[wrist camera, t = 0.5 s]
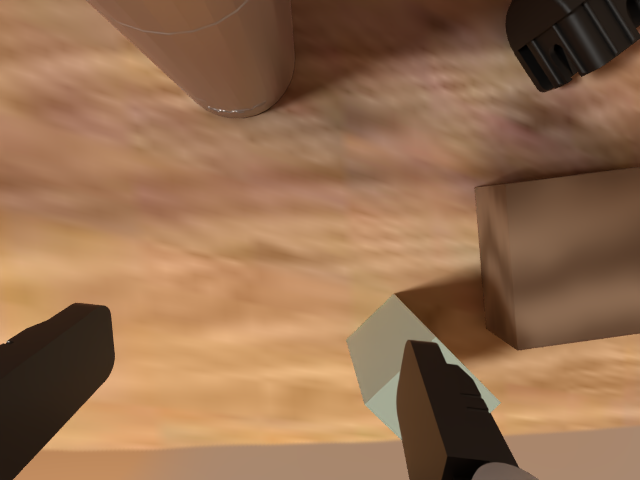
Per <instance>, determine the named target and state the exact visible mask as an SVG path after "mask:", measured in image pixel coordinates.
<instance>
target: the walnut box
mask: <svg viewBox="0 0 640 480" xmlns="http://www.w3.org/2000/svg"><path fill="white" fill-rule="evenodd" d="M475 200H476V212H477V224H478V236H479V248H480V260H481V272H482V284H483V296H484V308H485V320H486V329H488V330H489V331H491V332H492V333H493V334H495V335H496V336H498V337H499V338H501V339H502V340H504V341H505V342H506V343H508V344H509V345H511V346H512V347H514V348H515V349H517V350H524V349H531V348H538V347H546V346H553V345H560V344H567V343H574V342H582V341H589V340H596V339H603V338H610V337H618V336H625V335H632V334H639V333H640V167H634V168H625V169H616V170H608V171H601V172H593V173H585V174H577V175H569V176H561V177H554V178H546V179H538V180H530V181H522V182H515V183H507V184H499V185H491V186H483V187H475Z"/></svg>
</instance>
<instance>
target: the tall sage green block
mask: <svg viewBox="0 0 640 480" xmlns="http://www.w3.org/2000/svg"><path fill="white" fill-rule="evenodd" d="M407 340H417V341H426V342H436V343H437V344H438V345H439V347H440V349H441V352H442V354H443V356H444V358H445V361H446V363H447V364H456V365H458V366H460V367H461V368H462V369H463V370H464V371H465V372H466V373H467V374H468V375H469V376H470V377H471V378H472V379H473V380H474V382H475V384H476V386H477V388H478V390H479V392H480V394H481V398H482V399H484V401H485V403H486V405H487V407H488V409H489V413H491V412H492V411H493V410H494V409H495V408H496V407H497V406H498V405H499V404H500V403H501V402H500V401H499V400H498V399H497V398H496V397H495V396H494V395H493V394H492V393H491V392H490V391H489V390H488V389H487V388H486V387H485V386H484V385H483V384H482V383H481V382H480V381H479V380H478V379H477V378H476V377H475V376H474V375H473V374H472V373H471V372H470V371H469V370H468V369H467V368H466V367H465V365H464V364H463V363H462V362H461V361H460V360H459V359H458V358H457V357H456V356H455V355H454V354H453V353H452V352H451V351H450V350H449V349H448V348H447V347H446V346H445V345H444V344H443V343H442V342H441V341H440V340H439V339H438V338H437V337H436V336H435V335H434V334H433V333H432V332H431V331H430V330H429V329H428V328H427V327H426V326H425V325H424V324H423V323H422V322H421V321H420V320H419V319H418V318H417V317H416V316H415V315H414V314H413V313H412V312H411V311H410V309H409V308H408V307H407V306H406V305H405V304H404V303H403V302H402V301H401V300H400V299H399V298H398V297H397V296H396V295H395V294H393V295H392V296H391V297H390V298H389V299H388V300H387V301H386V302H385V303H384V304H383V305H382V306H381V307H380V308H378V309H377V310H376V311H375V312H374V313H373V314H372V315H371V316H370V317H369V318H368V319H367V320H366V321H365V322H364V323H363V324H362V325H361V326H360V327H359V328H358V329H357V330H356V331H355V332H354V333H353V334H352V335H350V336H349V337H348V338H347V339H346V341H347V345H348V348H349V352H350V355H351V359H352V362H353V366H354V369H355V373H356V376H357V380H358V383H359V387H360V390H361V394H362V397H363V401H364V404H365V405H366V406H367V407H368V408H369V409H370V410H371V411H372V412H373V413H374V414H375V415H376V416H377V417H378V418H379V419H380V420H381V421H382V422H383V423H384V424H385V425H386V426H387V427H389V428H390V429H391V430H392V431H393V432H394V433H395V434H396V435H397V436H398V437H399V438H400V439H401V440H402V437H401V432H400V427H399V422H398V417H397V409H396V395H397V386H398V381H399V375H400V370H401V365H402V359H403V354H404V348H405V344H406V342H407Z"/></svg>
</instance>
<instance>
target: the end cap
mask: <svg viewBox="0 0 640 480" xmlns="http://www.w3.org/2000/svg"><path fill="white" fill-rule="evenodd" d="M639 25H640V0H513V1H512V2H511V4H510V6H509V8H508V11H507V15H506V33H507V38H508V41H509V43H510V46H511V48H512V50H513V51H514V54H515V56H516V57H517V59H518V60H519V62H520V63H521V65H522V66H523V68H524V69H525V71H526V73H527V74H528V76H529V77H530V79H531V80H532V82H533V83H534V85H535V86H536V88H537V89H538V90H539V91H540V92H546V91H548V90H550V89H552V88H555V89H556V88H558V87H560V86H563V85H565V84H567V83H568V82H570V81H571V80H572V78H571V77H572V76H573V75H574V74H576V73H577V72H578V73H579V74H580V76H581V77H582V76H584V75H586V74H588V73H590V72H592V71H594V70H596V69H598V68H600V67H602V66H603V65H605V64H606V63H608V62H609V61H611V60H612V59H613V58H615V57H616V56H617V55H619V54H620V53H621V52H623V51H624V50H625V49H627V48H628V47H629V46H631V45H632V44H633V43H635V42H636V41H637V40H639V39H640V34H639V33H638V31H637V29H636V28H637V27H638V26H639Z"/></svg>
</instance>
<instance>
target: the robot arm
mask: <svg viewBox="0 0 640 480" xmlns="http://www.w3.org/2000/svg"><path fill="white" fill-rule="evenodd" d="M86 1H87V2H88V3H89V4H91V5H92V6H93V7H94V8H95V9H96V10H97V11H98V12H99V13H100V14H101V15H102V16H103V17H105V18H106V19H107V20H108V21H109V22H110V23H111V24H112V25H113V26H114V27H115V28H116V29H118V30H119V31H120V32H121V33H122V34H123V35H124V36H125V37H126V38H127V39H128V40H129V41H130V42H132V43H133V44H134V45H135V46H136V47H137V48H138V49H139V50H140V51H141V52H142V53H143V54H145V55H146V56H147V57H148V58H149V59H150V60H151V61H152V62H153V63H154V64H155V65H156V66H158V67H159V68H160V69H161V70H162V71H163V72H164V73H165V74H166V75H167V76H168V77H169V78H170V79H172V80H173V81H174V82H175V83H176V84H177V85H178V86H179V87H180V88H181V89H182V90H183V91H184V92H185V93H187V94H188V95H189V96H190V97H191V98H192V99H193V100H194V101H195V102H196V103H198V104H199V105H200V106H202V107H203V108H205V109H206V110H208V111H210V112H212V113H214V114H217V115H219V116H224V117H228V118H245V117H250V116H254V115H257V114H259V113H261V112H264V111H266V110H267V109H269V108H270V107H271V106H273V105H274V104H275V103H276V102H277V101H278V100H279V99H280V98H281V97H282V95H283V94H284V93H285V91H286V89H287V87H288V86H289V84H290V82H291V78H292V75H293V71H294V64H295V50H294V38H293V22H292V10H291V0H86ZM114 360H115V352H114V342H113V331H112V321H111V313H110V310H109V308H108V307H106V306H102V305H93V304H84V303H74V304H72V305H70V306H69V307H67V308H66V309H64V310H62V311H61V312H59V313H58V314H56V315H55V316H53V317H52V318H50V319H49V320H47V321H44V322H42V323H39V324H37V325H34V326H32V327H29V328H27V329H25V330H23V331H22V332H20V333H19V334H17V335H16V336H14V337H12V338H11V339H9V340H8V341H7V343H6V344H1V345H0V480H13V479H14V478H15V477H16V476H17V475H18V474H19V473H20V471H21V470H22V469H23V468H24V467H25V466H26V465H27V464H28V463H29V462H30V461H31V460H32V459H33V458H34V456H35V455H36V454H37V453H38V452H39V451H40V450H41V449H42V448H43V447H44V446H45V445H46V444H47V443H48V442H49V440H50V439H51V438H52V437H53V436H54V435H55V434H56V433H57V432H58V431H59V430H60V429H61V428H62V427H63V426H64V424H65V423H66V422H67V421H68V420H69V419H70V418H71V417H72V416H73V415H74V414H75V413H76V412H77V411H78V409H79V408H80V407H81V406H82V405H83V404H84V403H85V402H86V401H87V400H88V399H89V398H90V397H91V396H92V395H93V393H94V392H95V391H96V390H97V389H98V388H99V387H100V386H101V385H102V384H103V383H104V382H105V381H106V379H107V378H108V377H109V375H110V373H111V371H112V368H113V365H114ZM396 409H397V417H398V422H399V427H400V432H401V437H402V443H403V447H404V453H405V457H406V463H407V469H408V474H409V479H410V480H538V479H537V478H536V477H534V476H533V475H531V474H530V473H528V472H526V471H524V470H522V469H520V468H519V467H518V465H517V463H516V461H515V459H514V457H513V455H512V453H511V451H510V449H509V447H508V445H507V444H506V442H505V440H504V438H503V436H502V434H501V432H500V430H499V428H498V426H497V424H496V422H495V421H494V419H493V417H492V415H491V413H489V409H488V407H487V405H486V403H485V401H484V399H482V398H481V394H480V392H479V390H478V388H477V386H476V384H475V382H474V380H473V379H472V378H471V377H470V376H469V375H468V374H467V373H466V372H465V371H464V370H463V369H462V368H461V367H460V366H458V365H456V364H447V363H446V361H445V358H444V356H443V354H442V352H441V349H440V347H439V345H438V344H437V343H436V342H426V341H417V340H407V342H406V344H405V348H404V354H403V359H402V365H401V370H400V375H399V381H398V386H397V395H396Z"/></svg>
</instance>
